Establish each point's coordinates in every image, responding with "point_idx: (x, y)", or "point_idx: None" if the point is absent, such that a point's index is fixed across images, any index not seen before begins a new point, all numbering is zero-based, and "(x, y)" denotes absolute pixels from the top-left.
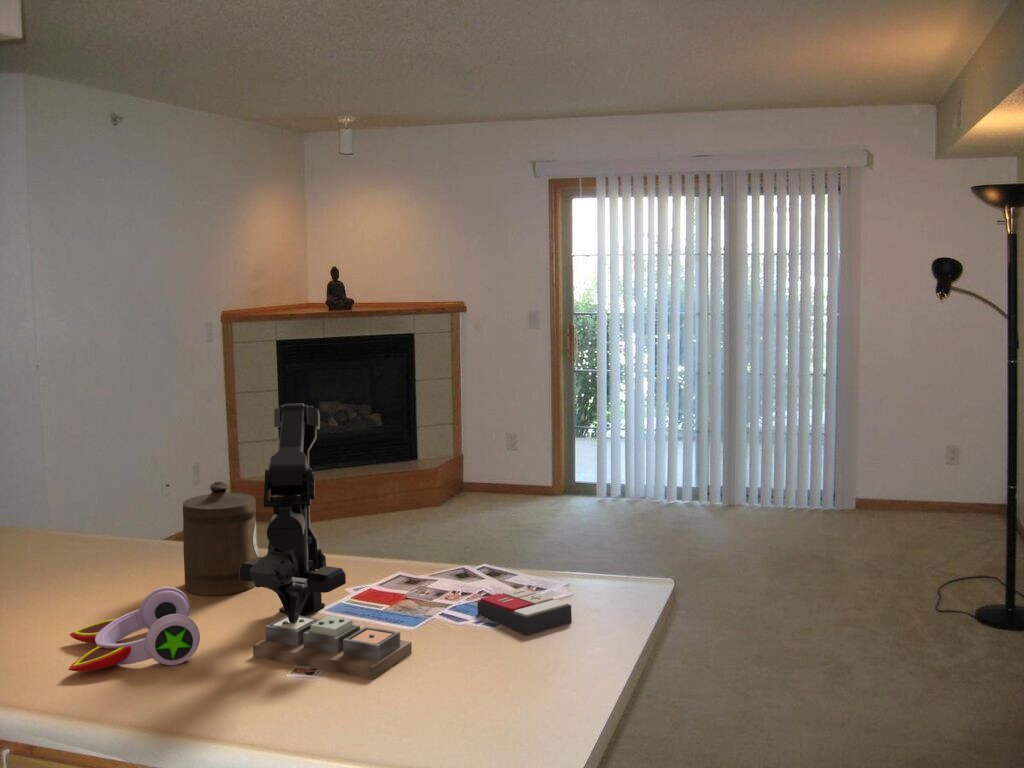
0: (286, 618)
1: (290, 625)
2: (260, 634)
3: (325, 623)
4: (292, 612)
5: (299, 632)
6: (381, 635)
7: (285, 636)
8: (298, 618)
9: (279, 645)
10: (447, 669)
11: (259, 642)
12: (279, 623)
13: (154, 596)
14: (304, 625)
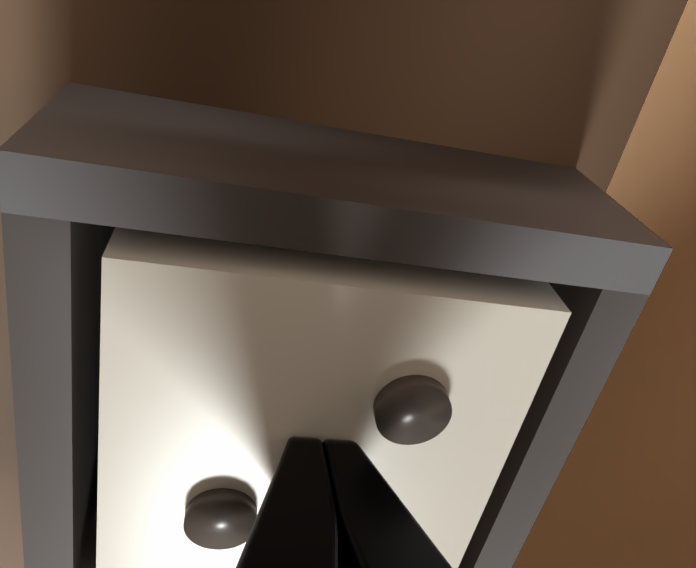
0: (462, 525)
1: (288, 357)
2: (678, 429)
3: None
4: (287, 566)
5: (14, 198)
6: None
7: (280, 150)
8: None
9: (333, 47)
10: None
11: (630, 87)
12: (489, 381)
13: None
14: (103, 425)
